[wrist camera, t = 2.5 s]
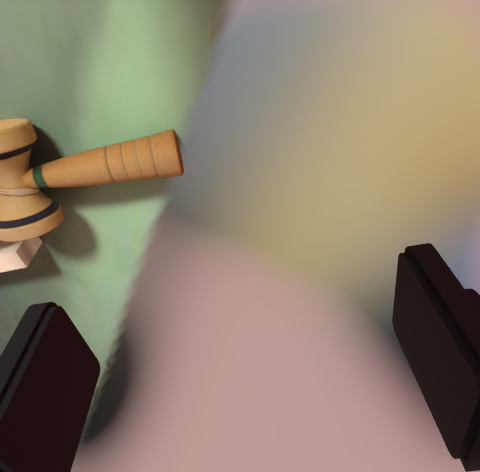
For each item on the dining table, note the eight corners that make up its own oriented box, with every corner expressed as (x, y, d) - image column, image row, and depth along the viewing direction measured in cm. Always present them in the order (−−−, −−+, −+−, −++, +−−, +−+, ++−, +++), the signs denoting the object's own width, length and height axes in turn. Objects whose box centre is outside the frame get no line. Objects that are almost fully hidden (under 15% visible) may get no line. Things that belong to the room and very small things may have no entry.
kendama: (161, 66, 24) (-134, 120, 23) (167, 117, 20) (-194, 186, 19) (185, 165, 30) (-49, 211, 29) (194, 220, 25) (-80, 277, 24)
